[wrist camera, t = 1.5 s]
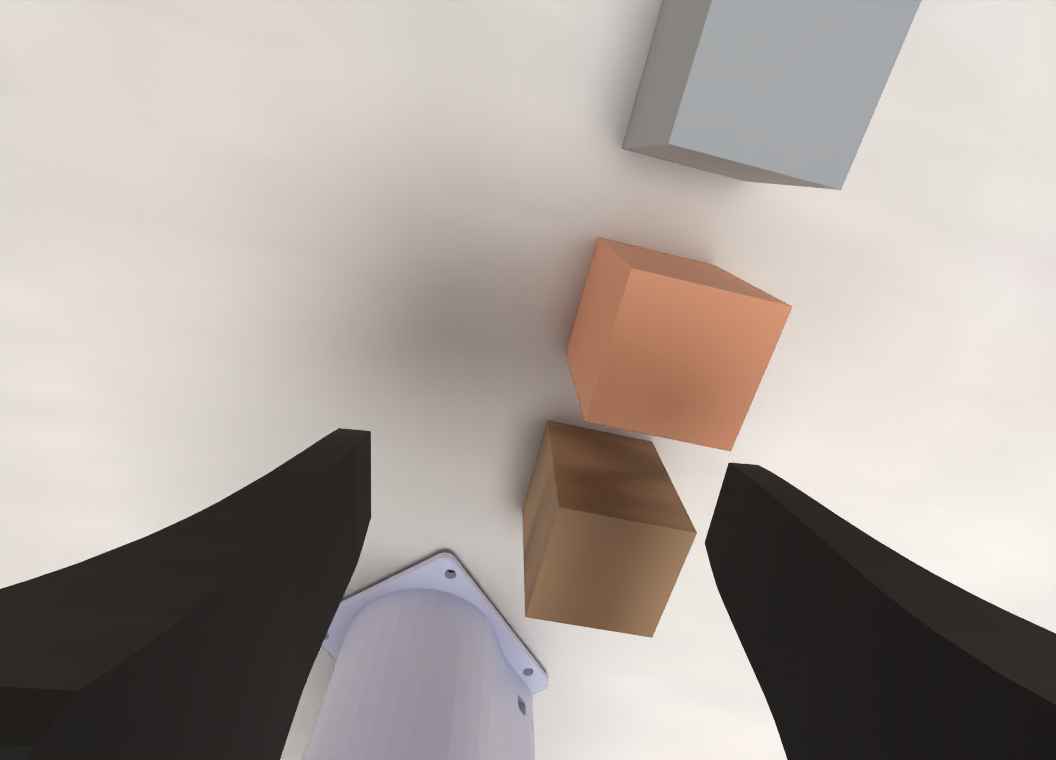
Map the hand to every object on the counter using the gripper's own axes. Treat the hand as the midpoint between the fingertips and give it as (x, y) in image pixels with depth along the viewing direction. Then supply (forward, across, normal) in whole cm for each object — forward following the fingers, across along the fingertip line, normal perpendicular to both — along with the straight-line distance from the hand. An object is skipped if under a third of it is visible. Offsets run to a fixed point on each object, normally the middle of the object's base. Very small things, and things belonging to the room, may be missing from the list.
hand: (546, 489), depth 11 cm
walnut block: (+10, -3, +6) cm, 13 cm away
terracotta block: (+11, -4, -1) cm, 11 cm away
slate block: (+11, -5, -8) cm, 15 cm away
